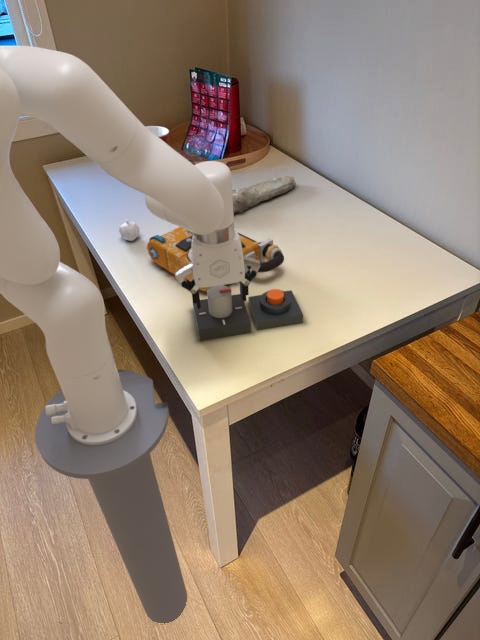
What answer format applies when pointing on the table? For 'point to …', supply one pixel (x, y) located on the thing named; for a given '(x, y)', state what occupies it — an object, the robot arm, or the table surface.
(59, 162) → the table surface
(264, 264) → the device
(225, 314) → the timer dial
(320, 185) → the table surface
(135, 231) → the garlic
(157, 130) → the plastic cup
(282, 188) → the elongated rock
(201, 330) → the timer panel
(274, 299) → the power button
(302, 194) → the table surface
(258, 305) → the button block
